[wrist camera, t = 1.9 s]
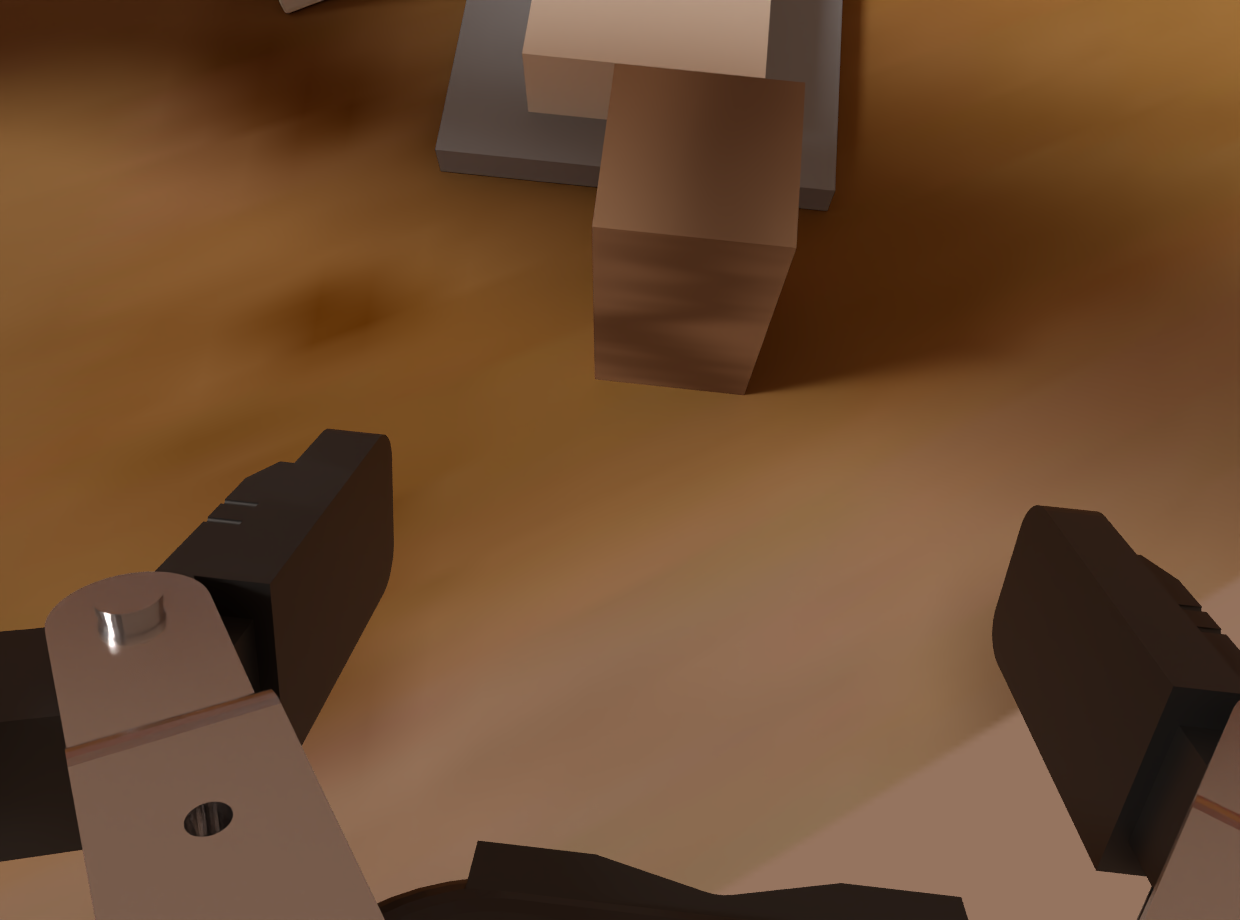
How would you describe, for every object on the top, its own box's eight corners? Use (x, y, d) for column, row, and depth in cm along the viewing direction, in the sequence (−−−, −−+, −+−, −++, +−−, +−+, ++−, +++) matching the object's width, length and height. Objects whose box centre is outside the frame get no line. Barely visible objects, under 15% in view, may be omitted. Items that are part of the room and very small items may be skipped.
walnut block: (594, 379, 31) (592, 226, 23) (611, 249, 33) (614, 63, 25) (743, 395, 31) (796, 248, 23) (753, 264, 33) (805, 82, 25)
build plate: (440, 170, 34) (420, 93, 30) (491, -77, 38) (479, -173, 34) (827, 210, 34) (855, 137, 30) (837, -43, 38) (863, -136, 34)
